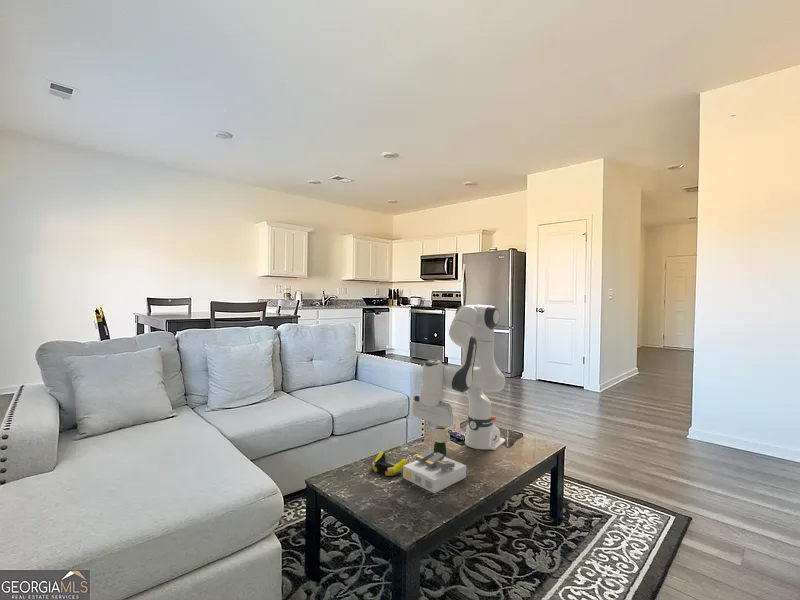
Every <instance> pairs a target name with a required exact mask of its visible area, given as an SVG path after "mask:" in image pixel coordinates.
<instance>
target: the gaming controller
mask: <svg viewBox="0 0 800 600" xmlns="http://www.w3.org/2000/svg"><path fill="white" fill-rule="evenodd" d="M407 464H408V461H407V459H405V458H402V459H401V460H400V461H399V462H397V463H396V464H395V465H394V464H391V463H388V462H387V460H386V453H385V452H383V451H380V452H379V453H378V454H377V456H376V457H375V459H374V461H372V470H373V471H374V472H375V473H378V474H381V475H384V476H386V477H387V476H388V477H390V476H391V477H393V476H395V475H397V474H400V473H401V472H403V466H404V465H407Z"/></svg>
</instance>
